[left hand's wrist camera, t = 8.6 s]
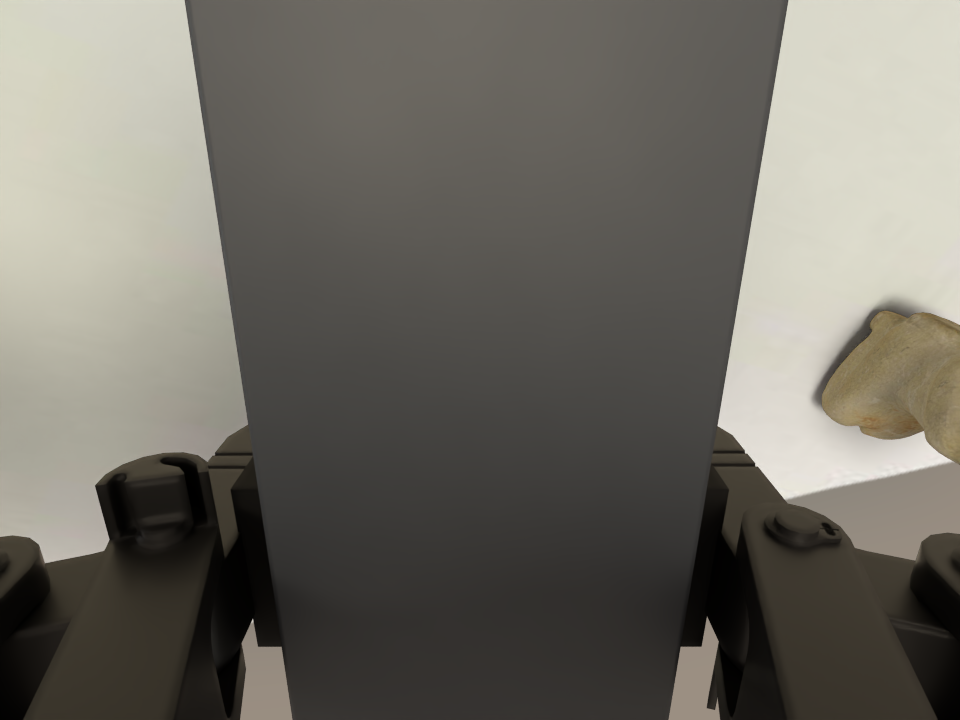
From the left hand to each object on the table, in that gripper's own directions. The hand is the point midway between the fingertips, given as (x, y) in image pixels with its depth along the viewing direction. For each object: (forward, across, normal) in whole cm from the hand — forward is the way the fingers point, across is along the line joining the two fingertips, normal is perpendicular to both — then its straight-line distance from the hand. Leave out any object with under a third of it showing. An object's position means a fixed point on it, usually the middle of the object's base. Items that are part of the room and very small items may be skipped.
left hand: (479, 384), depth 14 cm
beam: (+1, 0, -34) cm, 34 cm away
